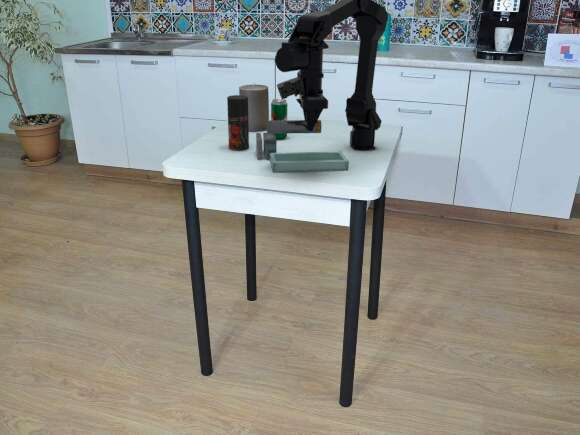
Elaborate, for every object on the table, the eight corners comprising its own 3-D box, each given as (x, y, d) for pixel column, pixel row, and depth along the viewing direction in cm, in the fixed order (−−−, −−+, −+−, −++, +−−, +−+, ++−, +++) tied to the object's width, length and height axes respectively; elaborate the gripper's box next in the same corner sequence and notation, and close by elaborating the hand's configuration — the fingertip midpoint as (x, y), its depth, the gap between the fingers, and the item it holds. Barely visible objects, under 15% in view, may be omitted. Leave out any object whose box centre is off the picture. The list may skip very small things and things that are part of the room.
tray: (341, 159, 153) (341, 151, 152) (348, 170, 145) (348, 161, 144) (269, 161, 151) (269, 153, 150) (272, 172, 143) (272, 163, 142)
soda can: (285, 140, 171) (285, 102, 166) (269, 139, 172) (269, 101, 167) (288, 136, 175) (289, 98, 171) (273, 135, 176) (273, 97, 171)
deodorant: (253, 148, 163) (252, 97, 157) (238, 152, 159) (236, 100, 153) (239, 144, 167) (238, 94, 161) (224, 147, 163) (222, 97, 157)
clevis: (273, 151, 160) (273, 132, 158) (276, 159, 153) (276, 140, 151) (256, 151, 160) (256, 132, 158) (258, 159, 153) (257, 140, 150)
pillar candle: (268, 124, 189) (268, 80, 183) (269, 131, 180) (268, 85, 174) (240, 124, 189) (238, 80, 183) (239, 132, 180) (238, 85, 174)
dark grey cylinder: (319, 130, 147) (319, 118, 145) (321, 134, 144) (321, 122, 142) (266, 131, 145) (266, 119, 144) (267, 135, 142) (267, 122, 141)
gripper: (275, 63, 146) (275, 121, 152) (283, 74, 129) (282, 139, 135) (317, 63, 147) (315, 120, 153) (329, 74, 130) (327, 138, 136)
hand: (309, 129), depth 144 cm, fingers closed on dark grey cylinder, 3 cm apart
